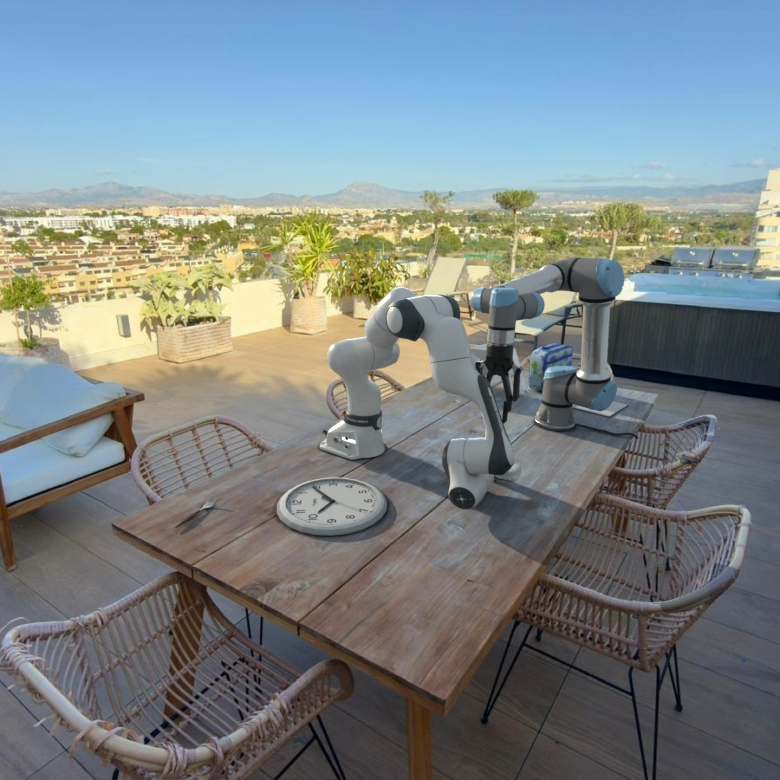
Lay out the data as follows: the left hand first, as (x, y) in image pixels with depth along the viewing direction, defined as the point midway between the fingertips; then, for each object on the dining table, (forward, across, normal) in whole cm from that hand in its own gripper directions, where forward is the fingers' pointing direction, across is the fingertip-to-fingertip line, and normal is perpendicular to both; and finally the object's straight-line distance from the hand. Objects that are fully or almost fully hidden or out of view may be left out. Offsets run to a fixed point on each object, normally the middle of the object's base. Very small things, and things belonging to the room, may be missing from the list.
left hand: (491, 456), depth 160 cm
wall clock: (-38, +34, +7) cm, 51 cm away
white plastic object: (+82, +27, +7) cm, 86 cm away
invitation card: (+87, -26, +7) cm, 91 cm away
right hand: (-1, 0, -12) cm, 12 cm away
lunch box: (+105, 0, +7) cm, 105 cm away
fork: (-58, +63, +7) cm, 86 cm away
